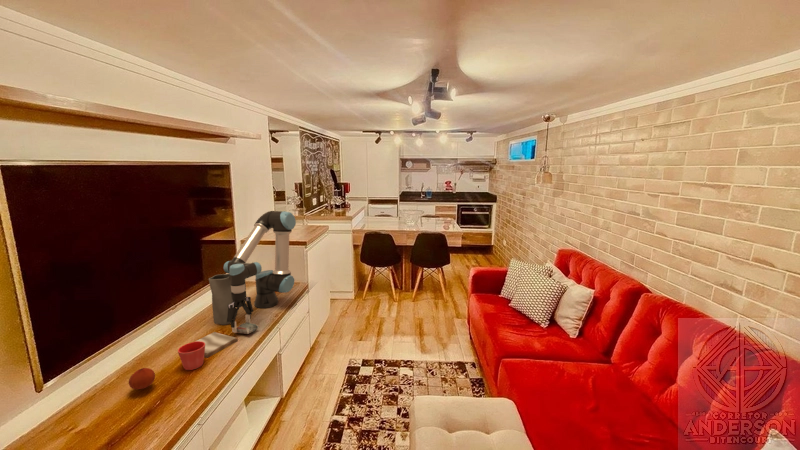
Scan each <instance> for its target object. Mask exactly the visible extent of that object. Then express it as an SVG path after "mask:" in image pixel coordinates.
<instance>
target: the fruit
mask: <svg viewBox="0 0 800 450" xmlns="http://www.w3.org/2000/svg"><path fill="white" fill-rule="evenodd" d="M155 373H156V372H155V371H154V370H153V369H151V368H148V367H142V368H140V369H138V370H136V371H135V372H133V374H131V375H130V377H129V379H128V386H129V387H130V388H131V389H133V390H143V389H146V388H148V387H149V386H151V385H152V384H153V383H154V381H155V379H156V374H155Z"/></svg>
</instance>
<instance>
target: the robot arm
mask: <svg viewBox="0 0 800 450" xmlns="http://www.w3.org/2000/svg"><path fill="white" fill-rule="evenodd" d="M296 221H297V220H296V217H295V216H294V214H293V213H292V212H291V211H278V210H269V211H267V212H265V213H264V214H262V215H260V216H259V218H258V219H257V220H256V221H255V222H254V225H253V226H254V227H253V229H252V230H251V232H249V235H248V236H247V237H246V238H245V240H244V241H243V243H242V244H241V246H240V248H239V249H238V251H237V252H236V253H235V255H234V256H233V258H232V259H231V260H228V261H226V262H225V263H224V264H223V271H224V272H225V274H230V283H231V292H232V293H231V295H232V300H233V302H232V304H228V316H227V322H230V328H231V330H232V333H233V334H234V333H235V334H238V333H237V327H238V326H237V321H236V318H237V315H238V311H239V309H240V308H241V307H242V309H243V310H244V311H245V313H246V314H245V317H244V318H245V323H251V319H252V314H253V312H254V308H253V305H252V301H251V300H252V299H251V298H252V297H250V296H247V288H246V286H247V285H246V279H249V278H251V277H255V279H254V280H255V290H256V294H255V300H254V307H255V308H257V309H267V308H271V307H275V306H276V305H278V303H279V298H278V297H277V294H276V293H280V294H282V293H283V294H284V293H285V294H286V293H289V292H290V291H291V290H292V289H293V288H294V285H295V277H294V276H293V275H292V271H291V270H290V268H289V266H290V265H289V264H290V263H289V262H290V261H289V260H290V234H291V233H292V230H294V229H295V226H296V223H297V222H296ZM271 229H272V231H273V233H274V235H275V240H274V241H275V242H274V243H275V244H274V245H275V248H274V250H275V251H274V253H275V254H274V255H275V256H274V270H273V269H267V270H263V269H262V265H261V263H260V262H257V261H252V262H250V263H249V262H247V261H248V260H249V258H250V257H251V255H252V254H253V252H254V250H255V249H256V248H257V246H258V245H259V244H260V241H261V240H262V238H263V237H264V235H265V234H267V233H269V230H271Z"/></svg>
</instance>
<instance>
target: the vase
mask: <svg viewBox="0 0 800 450" xmlns="http://www.w3.org/2000/svg"><path fill="white" fill-rule="evenodd" d="M208 283H209V287H210V291H211V303H212V314H213V317H212V319H213V323H214V324H216V325H221V326H226V325H231V323H230V322H227V316H228V304H232V302H233V300H232V295H231V293H232V292H231V283H230V274H229V273H223V274H221V273H220V274H215V275H213V276H212V277H209V278H208Z"/></svg>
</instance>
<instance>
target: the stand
mask: <svg viewBox="0 0 800 450" xmlns="http://www.w3.org/2000/svg"><path fill="white" fill-rule="evenodd" d="M197 341H201V342H204V343H205V353H204V358H210V357H212V356H213V355H215V354H217V353H219V352H221V351H222V350H224V349H226V348H228V347H230V346H231V345H233V344H235V343H237V342H238V338H237V337H234V336H231V335H227V334H222V333H219V332H216V331H213V332H211V333H209V334H207V335H205V336H203V337H201V338H200V339H197V340H195V341H194V342H197Z"/></svg>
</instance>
